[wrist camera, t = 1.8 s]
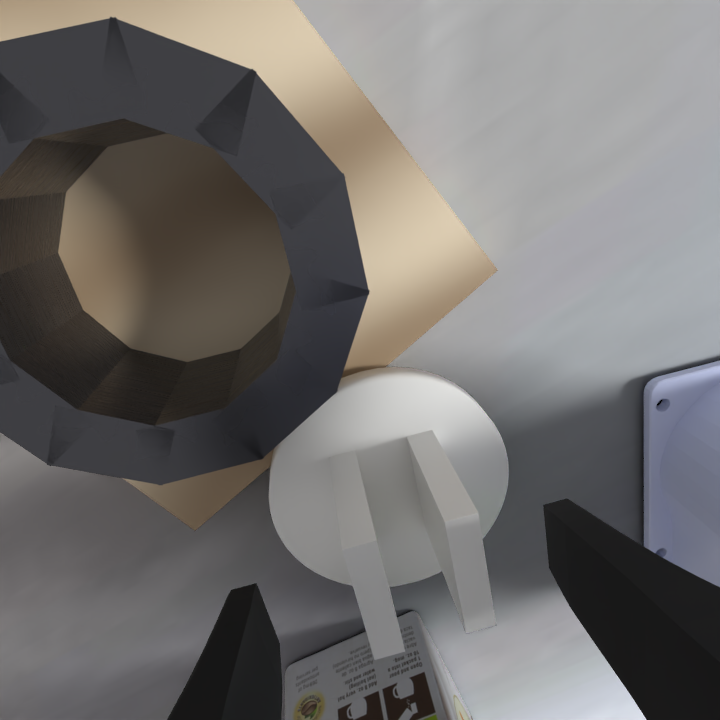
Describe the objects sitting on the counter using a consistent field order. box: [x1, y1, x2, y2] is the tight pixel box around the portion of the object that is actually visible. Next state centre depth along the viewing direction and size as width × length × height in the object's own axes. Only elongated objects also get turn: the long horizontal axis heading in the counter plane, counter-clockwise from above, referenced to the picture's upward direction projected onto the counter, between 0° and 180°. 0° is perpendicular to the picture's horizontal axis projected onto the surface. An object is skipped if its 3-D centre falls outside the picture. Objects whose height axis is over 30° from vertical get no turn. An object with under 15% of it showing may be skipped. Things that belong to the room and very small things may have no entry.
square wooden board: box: [0, 0, 498, 531], centre depth 14 cm, size 13×13×1 cm
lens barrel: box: [0, 17, 370, 485], centre depth 12 cm, size 9×9×4 cm
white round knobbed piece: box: [269, 367, 509, 660], centre depth 15 cm, size 8×8×6 cm
